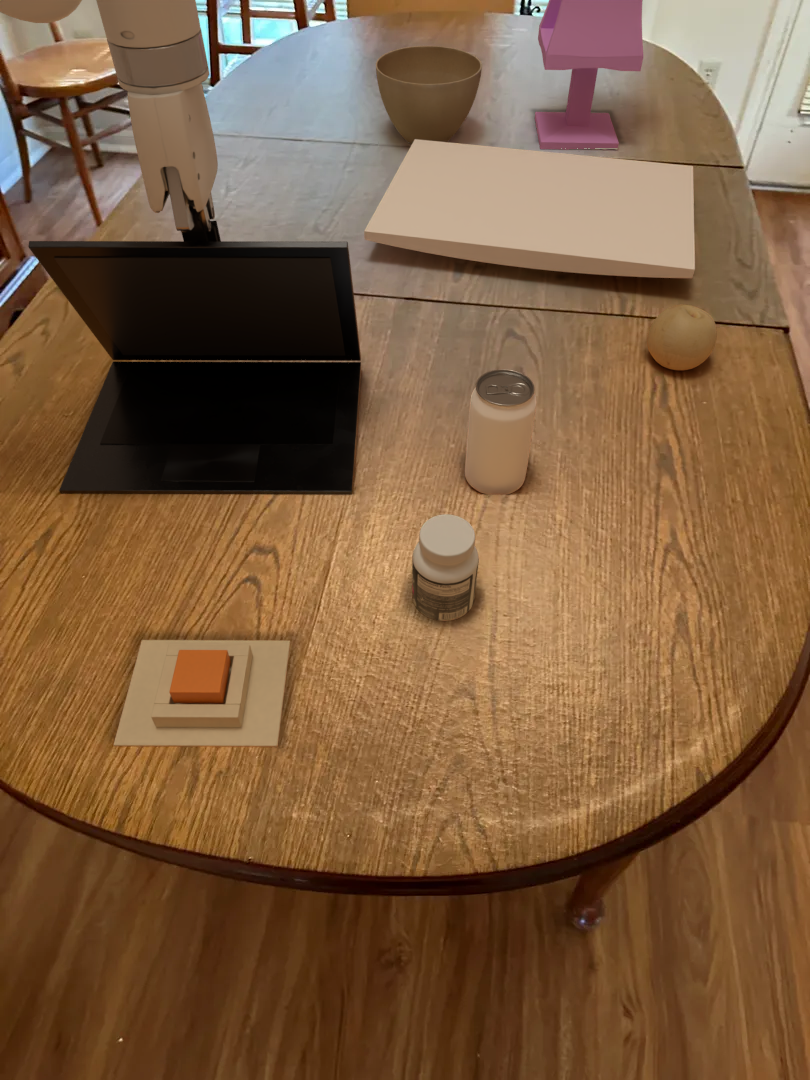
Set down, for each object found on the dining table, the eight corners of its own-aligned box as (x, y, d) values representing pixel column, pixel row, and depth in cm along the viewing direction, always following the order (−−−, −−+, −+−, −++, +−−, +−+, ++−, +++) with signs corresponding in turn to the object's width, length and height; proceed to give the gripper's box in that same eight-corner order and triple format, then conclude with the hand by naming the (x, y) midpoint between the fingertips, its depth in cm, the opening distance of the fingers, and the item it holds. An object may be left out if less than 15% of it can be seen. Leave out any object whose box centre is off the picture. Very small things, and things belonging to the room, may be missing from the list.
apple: (625, 356, 98) (647, 293, 95) (669, 366, 102) (690, 306, 99) (672, 372, 91) (696, 305, 89) (716, 381, 96) (740, 317, 93)
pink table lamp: (529, 116, 149) (555, -123, 122) (611, 117, 148) (656, -122, 122) (534, 151, 138) (565, -102, 112) (623, 152, 138) (675, -101, 112)
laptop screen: (347, 248, 73) (347, 241, 74) (27, 248, 73) (28, 240, 74) (360, 361, 95) (361, 355, 95) (112, 361, 95) (113, 355, 95)
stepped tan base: (118, 753, 63) (106, 734, 61) (145, 649, 70) (136, 628, 67) (279, 754, 63) (274, 735, 61) (292, 649, 70) (288, 628, 67)
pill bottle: (424, 573, 75) (426, 501, 68) (481, 591, 74) (490, 519, 66) (402, 618, 72) (402, 548, 64) (462, 637, 70) (469, 567, 63)
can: (528, 498, 82) (543, 408, 73) (466, 498, 82) (473, 408, 73) (521, 456, 86) (534, 366, 77) (462, 456, 86) (469, 366, 77)
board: (365, 262, 113) (364, 231, 110) (414, 167, 134) (414, 139, 130) (685, 301, 107) (694, 269, 103) (685, 195, 127) (693, 166, 124)
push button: (173, 703, 63) (168, 692, 62) (183, 661, 66) (178, 649, 64) (223, 703, 63) (219, 692, 62) (231, 661, 66) (227, 649, 64)
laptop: (352, 503, 81) (351, 490, 80) (64, 502, 82) (58, 489, 80) (361, 374, 96) (360, 361, 95) (116, 373, 96) (112, 360, 95)
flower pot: (357, 136, 143) (353, 62, 133) (429, 110, 151) (430, 38, 141) (424, 169, 134) (426, 91, 125) (497, 139, 142) (504, 64, 133)
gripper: (134, 29, 70) (183, 227, 84) (91, 94, 60) (155, 306, 74) (218, 27, 70) (253, 225, 83) (189, 92, 60) (234, 304, 74)
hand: (207, 262), depth 79 cm, fingers closed
